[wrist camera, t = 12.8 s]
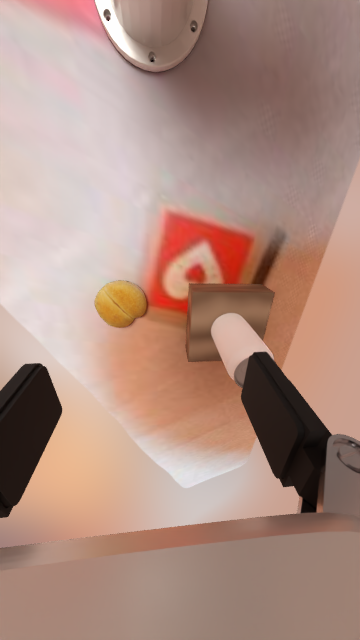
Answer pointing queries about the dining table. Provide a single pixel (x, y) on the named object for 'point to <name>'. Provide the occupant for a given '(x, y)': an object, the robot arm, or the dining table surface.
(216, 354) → the block
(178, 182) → the dining table surface
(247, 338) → the can
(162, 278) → the dining table surface
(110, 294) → the bread roll
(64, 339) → the dining table surface
